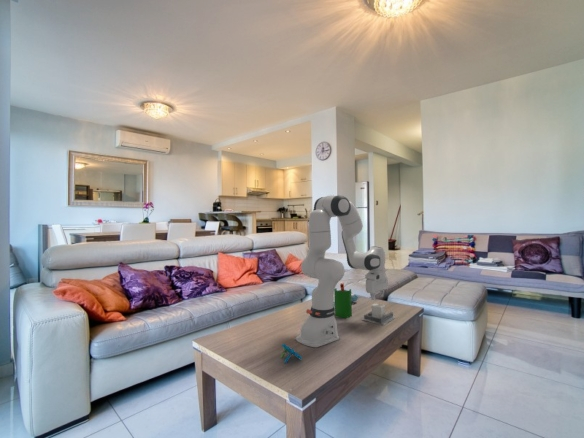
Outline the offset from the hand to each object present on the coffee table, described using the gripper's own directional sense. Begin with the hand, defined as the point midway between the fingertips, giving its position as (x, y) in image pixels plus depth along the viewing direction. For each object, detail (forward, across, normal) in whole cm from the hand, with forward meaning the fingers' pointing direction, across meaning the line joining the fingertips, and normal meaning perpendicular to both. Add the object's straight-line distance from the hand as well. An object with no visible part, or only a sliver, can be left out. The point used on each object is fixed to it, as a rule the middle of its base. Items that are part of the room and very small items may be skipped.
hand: (377, 298), depth 160 cm
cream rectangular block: (+11, -1, 0) cm, 11 cm away
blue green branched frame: (+15, +66, -5) cm, 68 cm away
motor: (+13, +7, -19) cm, 24 cm away
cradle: (+12, -1, 0) cm, 12 cm away
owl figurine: (+13, -19, -33) cm, 40 cm away
